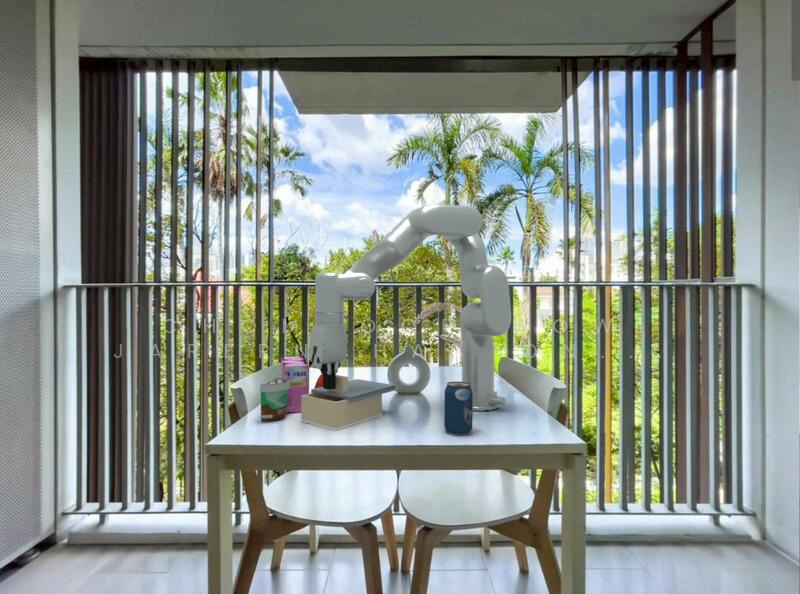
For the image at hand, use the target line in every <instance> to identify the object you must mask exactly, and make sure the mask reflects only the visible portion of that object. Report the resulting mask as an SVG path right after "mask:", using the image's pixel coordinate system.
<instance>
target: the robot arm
mask: <svg viewBox="0 0 800 594" xmlns="http://www.w3.org/2000/svg"><path fill="white" fill-rule="evenodd" d="M482 227H483V217H482V214H481V213H480V211H479V210H478V209H477V208H475V207H473V206H470V205H456V204H454V205H453V204H439V203H438V204H437V203H434V204H433V203H432V204H431V203H430V204H425V205H423V206H421V207H417V208H415V209H413V210H411V211H410V212H408V214H406V216H404V218H402V219H401V220H400V222H398V224H396V225H395V226H394V227H393V228H392V229H391V231H389V232H388V233H387V234H386V235H385V236H384V237H383V238H382V239H380V241H379V242H377V244H375V245H374V246H373V247H372V248H371V249H370V250H368V251H367V252H366V253H365V254H364V255H362V256H361V257H360V258H359V259H358V260H357V261H355V263H353V265H352V266H351V267H349V268H348V269H347V270H346V272H345V273H341V272H326V271H325V272H319V273H317V274H316V276H315V281H314V282H315V283H314V284H315V286H314V287H315V290H314V292H315V297H314V299H315V301H314V324H312V327H311V331H310V340H309V348H308V349H309V351H308V358H309V359H308V360H309V362H310V363H312V369H318V370H319V371H320V374H323V388H324V389H329V390H332V389H335V388H336V375H337V373H338V372H339V368H340V367H341V366H342V365H344V364H345V363H346V359H347V357H348V339H347V338H348V337H347V330H346V324H345V318H346V316H345V299H346V300H349V301H353V300H354V301H364V300H367V299H369V298H370V297H372V296H373V294H374V293H375V291H376V283H375V280H376V279H377V278H378V277H379V276H381V275H382V274H384V273H386V272H387V271H389V270H392V269H393V268H396V267H398V266H399V265H400V264H403V262H404V261H405V260H406V259H407V258H408V257H409V256H410V255H411V254H412V253H413V252H414V251H415V250H416V249H417V248H418V247H419V246H420V245H421V244H422V243H423V242H424V241H425V240H426V239H427V238H428V237H432V236H441V237H442V238H444V239H445V240H447V241H448V242H449V243H450V244H451V245H452V246H453V247H454V249H455V251H456V254H457V259H458V260H457V261H458V267H459V278H460V279H459V281H460V287H461V292H462V293H463V294H464V295H465V296H466V297H469V298H473V299H480V300H479V301H477V302H475V301H474V302H470V303H468V304H467V305H465V306H464V307H463V308H462V310H461V312H460V314H459V325H460V326H459V327H460V332H461V342H462V343H461V344H462V347H461V348H462V352H461V353H462V356H461V358H462V359H461V360H462V363H461V364H462V369H461V371H462V372H461V374H462V376H461V377H462V378H461V380H462V381H461V382H467V383H470V387H471V389H472V391H473V412H474V411H476V412H478V411H479V412H483V411H484V412H486V411H485V410H489V411H494V410H493V409H495V410H497V409H498V408H499V407H500V405H501V406H505V405H506V404H507V399H506V397H503V396H498V391H494V389H495V345H494V340H493V337H500V336H502V335H504V334H506V333H507V332H508V330H509V329H510V327H511V324H512V323H511V322H512V309H511V308H512V306H511V297H510V296H511V295H510V285H509V280H508V278H507V276H506V272H504V271H503V269H502V268H500V267H498V266H495V265H489V264H488V257H487V250H486V246H485V243H484V241H483V239H482V237H481V236H480V234H478V233H479V232H480V231H481V229H482ZM496 408H497V409H496Z"/></svg>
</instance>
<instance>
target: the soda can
mask: <svg viewBox="0 0 800 594" xmlns="http://www.w3.org/2000/svg"><path fill="white" fill-rule="evenodd" d="M443 411H444V412H443V413H444V414H443V415H444V418H443V419H444V424H443V425H444V426H443V427H444V429H445V430H446V433H448V434H449V433H450V434H449V435H452V434H454V435H453V436H466V434H467V435H469V434H470V433H471V432H472V430H473V423H474V421H473V419H474V418H473V417H474V416H473V415H474V413H473V412H474V410H473V391H472V389H471V387H470V383H467V382H462V381H449V382H447V383H446V386H445V388H444V409H443Z"/></svg>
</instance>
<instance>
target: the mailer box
mask: <svg viewBox="0 0 800 594" xmlns="http://www.w3.org/2000/svg"><path fill="white" fill-rule="evenodd" d="M300 414H301V420H300V422H301V421H303V422H302V423H305V422H306V424H308V423H310V424H309V425H312V424H313V426H316V425H317V426H318V427H321V428H325V429H328V430H332V431H339V430H342V429H346V428H348V427H351V426H354V425H357V424H360V423H363V422H366V421H369V420H373V419H375V418H379V417H382V415H383V394H380V395H377V396H373V397H369V398H366V399H362V400H359V401H355V402H351V403H349V399H345V398H340V397H335V396H330V395H325V394H320V393H315V392H314V393H311V392H309V394H306V395H301V412H300Z"/></svg>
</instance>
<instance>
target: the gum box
mask: <svg viewBox="0 0 800 594" xmlns="http://www.w3.org/2000/svg"><path fill="white" fill-rule="evenodd" d="M280 378H282V381H285V379H288V380H289V382H290V386H291V388H290V389H288V396H287V405H286V412H295V413H301V395H306V394H310V364H309V362H308V361H307V359H306V355H304V354H300V355H299V356H286V355H284V354H283V355H281V357H280Z"/></svg>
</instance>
